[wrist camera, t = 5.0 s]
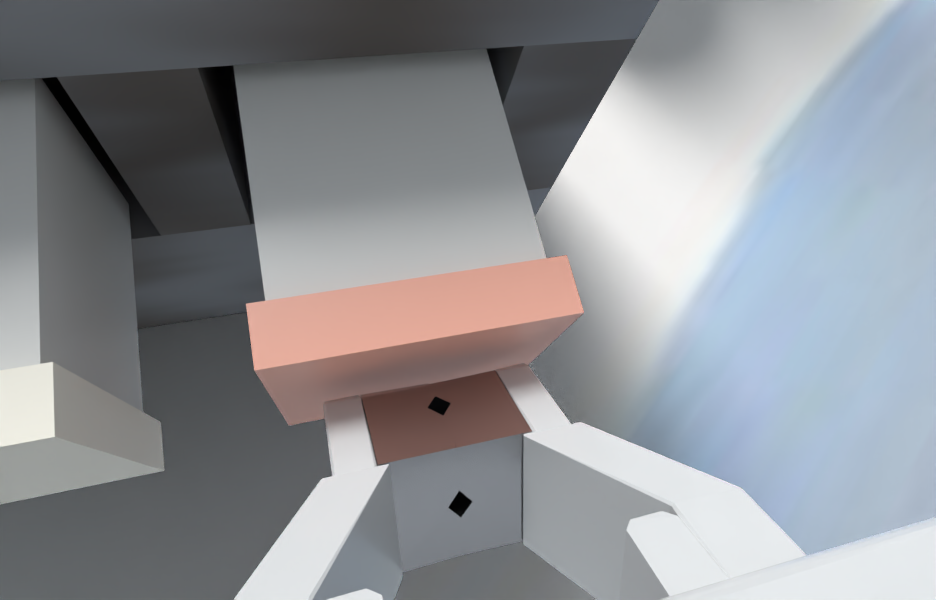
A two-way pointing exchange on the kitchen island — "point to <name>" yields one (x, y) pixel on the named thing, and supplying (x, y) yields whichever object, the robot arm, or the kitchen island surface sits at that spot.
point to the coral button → (390, 228)
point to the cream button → (65, 310)
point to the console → (218, 118)
